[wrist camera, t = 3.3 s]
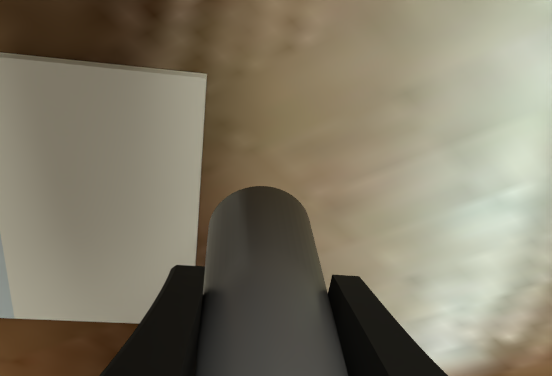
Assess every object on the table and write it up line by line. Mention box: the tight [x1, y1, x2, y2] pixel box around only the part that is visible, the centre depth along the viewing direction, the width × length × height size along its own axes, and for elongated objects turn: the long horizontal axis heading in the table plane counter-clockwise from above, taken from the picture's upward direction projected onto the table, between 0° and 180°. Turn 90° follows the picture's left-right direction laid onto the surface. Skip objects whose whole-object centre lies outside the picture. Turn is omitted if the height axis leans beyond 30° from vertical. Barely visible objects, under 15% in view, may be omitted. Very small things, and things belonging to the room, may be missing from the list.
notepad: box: [0, 52, 207, 324], centre depth 20 cm, size 12×10×1 cm
